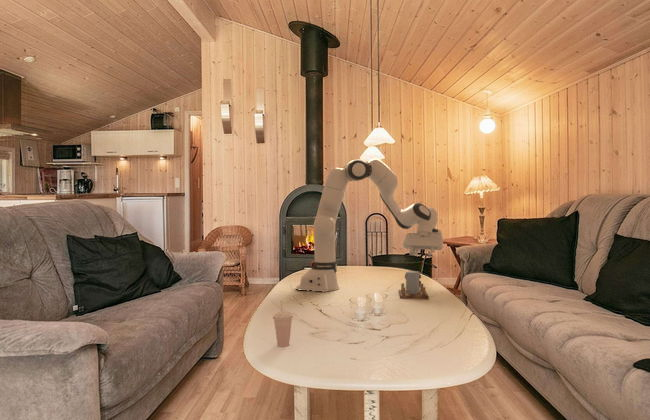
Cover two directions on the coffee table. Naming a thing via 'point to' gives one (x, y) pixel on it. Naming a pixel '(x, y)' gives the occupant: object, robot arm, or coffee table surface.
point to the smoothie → (283, 327)
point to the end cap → (419, 277)
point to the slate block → (412, 282)
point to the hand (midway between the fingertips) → (420, 254)
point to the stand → (420, 295)
